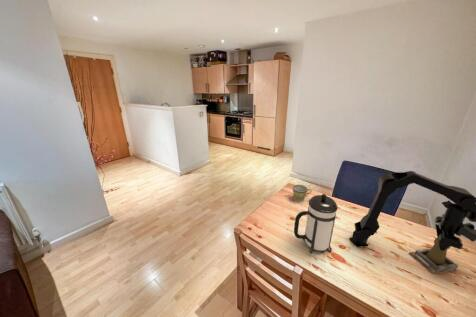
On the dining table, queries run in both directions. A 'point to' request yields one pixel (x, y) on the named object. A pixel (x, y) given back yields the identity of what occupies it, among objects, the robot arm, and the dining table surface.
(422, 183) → the robot arm
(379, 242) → the dining table surface
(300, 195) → the ceramic cup
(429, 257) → the olive tall rounded piece
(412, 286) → the dining table surface
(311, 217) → the coffee press
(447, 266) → the frame
